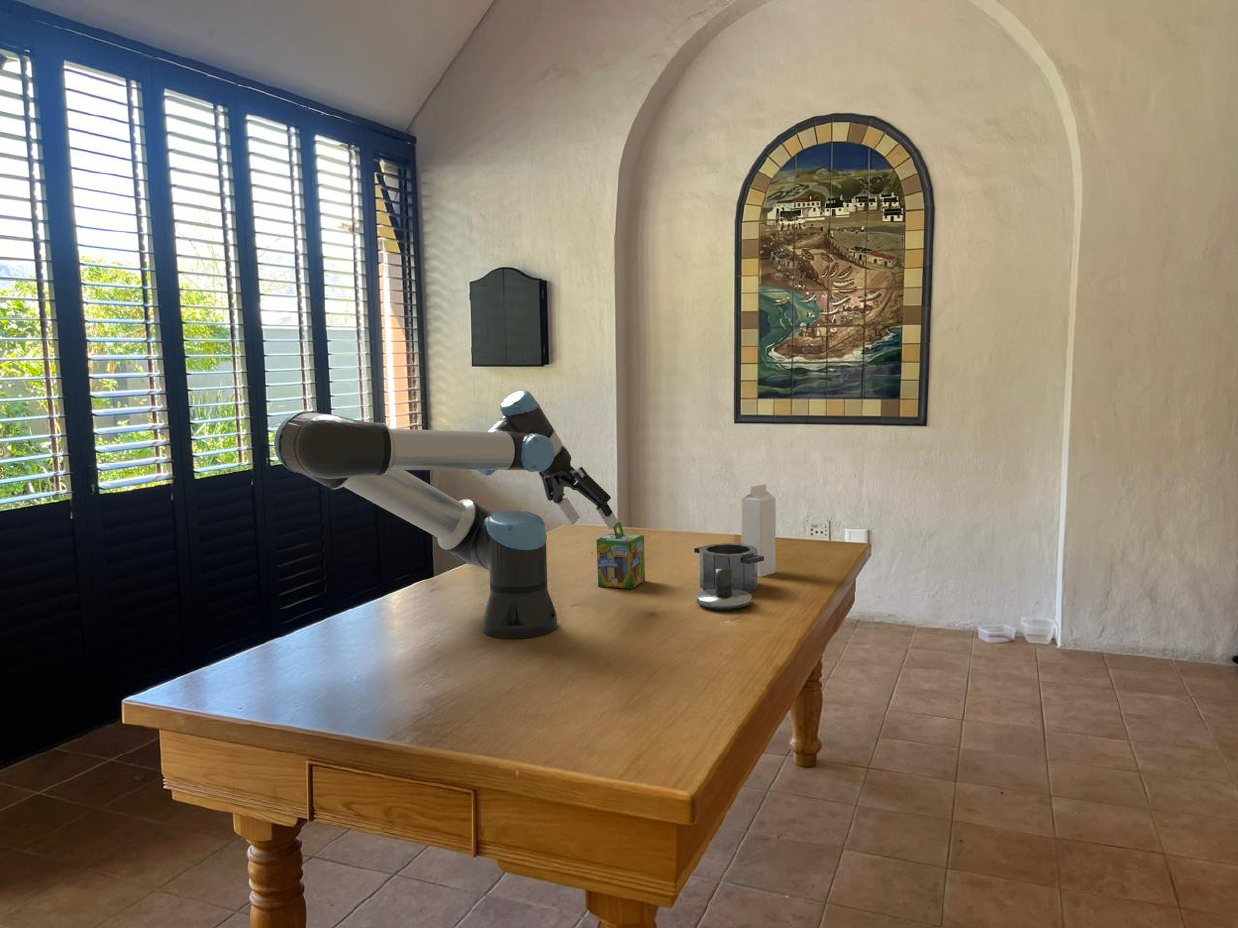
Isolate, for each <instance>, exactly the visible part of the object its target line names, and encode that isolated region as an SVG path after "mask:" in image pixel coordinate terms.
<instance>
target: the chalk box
mask: <svg viewBox="0 0 1238 928" xmlns="http://www.w3.org/2000/svg"><path fill="white" fill-rule="evenodd" d="M617 529H619V532H618V531H617ZM612 530H613V533H608V534H606V535H603V536H601V537H598V538H597V539H596V561H597V562H596V565H597V587H599V588H600V587H601V588H616V589H617V588H618V589H619V588H620V589H630V590H631V589H632V590H633V589H634V588H635V587H637V586H639V585H640V584H642V583H644V582H645V581H646V569H645V568H646V567H645V565H646V563H645V535H642V534H632V533H624V529H623V526H622V523H621V522H620V521H618V522H617V524H616V525H615V526H614V527H613V528H612Z"/></svg>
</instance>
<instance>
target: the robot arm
mask: <svg viewBox="0 0 1238 928" xmlns="http://www.w3.org/2000/svg"><path fill="white" fill-rule="evenodd" d="M499 409H500V411H501V415H502V417H500V418H499V420H498V421H497V422H495V423H494V424H493V425H492V426H491V427H489V429H487V430H485V431H475V430H474V431H473V430H472V431H467V430H445V429H443V430H440V429H438V430H437V429H436V430H435V429H415V428H414V429H409V428H406V429H405V428H390V427H389V426H388V425H387V424H386V423H384V422H373V421H372V422H371V421H364V420H360V419H359V420H357V419H353V418H348V417H345V416H340V415H337V414H330V413H329V414H328V413H319V412H315V411H309V410H305V411H301V412H296V413H294V414H293V413H292V414H291V415H289V416H288V417H286V418H284V420H283V421H282V422H281V423H280V425H279V426H278V428H277V430H276V432H275V433H274V440H273V446H274V451H275V455H276V457H277V459H278V461H279V462H281V464H282V465H283V466H284V467H285V468H286V469H288V470H289V471H291V472H294V473H297V474H301V475H304V476H306V477H308V478H310V479H312V480H314V481H315V482H318V483H319V484H321V485H323V486H324V487H327V488H329V489H330V490H338V489H341V488H343V487H344V488H345V489H347V490H349V491H351V492H353V493H354V494H356V495H359V496H360V497H362V498H364V499H366V500H367V501H370V502H372V504H375V505H376V506H378V507H380V508H382V509H384V510H385V511H387V512H389V513H392V514H394V515H395V516H397V517H399V518H401V519H402V520H405V521H406V522H409V523H410V524H412V525H414V526H416V527H418V528H419V529H421V530H423V531H425V532H427V533H428V534H431V535H433V536H434V537H436V539H437V544H438V545H439V547H440V548H441V549H443V550H444V551H447V552H448V553H450V554H451V555H452V556H453V557H455V558H456V559H457V560H458V561H460V562H462V563H464V564H467V565H472V566H474V567H475V566H476V567H478V568H482V569H484V570H488V572H489V595H488V599H487V604H486V605H485V611H484V614H483V617H482V631H483V633H484V634H486V635H488V636H490V637H494V638H499V639H526V638H527V639H528V638H536V637H540V636H544V635H548V634H550V633H551V632H553V631H555V630H557V628H558V615H557V612H556V609H555V606H554V604H553V601H552V598H551V595H550V593H549V589H548V563H547V562H548V561H547V560H548V559H547V558H548V557H547V539H548V536H547V530H546V523H545V521H544V518H542V517H541V516H540V515H538V514H535V513H534V512H530V511H525V510H524V511H520V510H517V509H515V510H513V509H511V510H508V509H507V510H501V511H496V512H492V511H490V510H488V509H487V508H485V507H483V506H481V505H480V504H478V503H476V502H474V501H473V500H471V499H469V498H463V499H461V500H456V499H455V498H454V497H452V496H451V495H448V494H447V493H445V492H444V491H441V490H439V489H438V488H436V487H435V486H432V485H430V483H427V482H425V481H424V480H422V479H420V478H419V477H417V476H415V475H414V474H412V473H410V472H408V471H477V472H479V473H480V474H481V475H485V476H491V475H493V473H495V472H497V471H527V472H529V473H536V472H537V473H538V475H539V477H540V478H541V480H542V485H543V487H544V492H545V496H546V499H547V501H549V502H551V501H553V503H554V504H556V505H557V506H558V508H559V509H560V511H561V512H562V514H563V515H564V516H565V518H566V519H567V521H568V522H569V524H570V525H571V526H574V525H575V524H576V523H577V521H578V520H579V519H580V518H581V516H580V515H579V514H578V512H577V510H576V509H575V508H574V506H573V504H572V503H571V501H570V500H569V498H568V497H567V496H566V493H564V491H565V487H566V488H570V489H571V490H572V491H577V492H578V493H579V494H581V495H582V496H583V497H585V498H586V499H588V500H589V501H590V502H591V503H592V504H594V505H595V510H596V511H597V512H598V514H599V515H600V518H601V519H602V521H603V522H604V523H605V525H606V527H607V528H608V530H613V527H614V526H615V525H616V524H617V522H619V520H618V518H617V517H616V516H615V514H614V512H613V510H612V508H611V506H610V505H609V503H608V502H610V500H611V498H612V497H611V495H610V494H608V492H606V490H605V489H603V488H602V487H601V486H600V485H599V484H598V483H597V482H596V481H595V480H594V478H592V477H591V476H590V475H589V474H588V473H587V471H586V470H585V469H584V467H583V466H579V467H578V468H577V469H575V468H574V466H572V464H571V461H572V455H571V454H570V452H569V451H568V449H567V448H566V445H565V444H563V442H562V440H561V438H560V437H559V435H558V434H557V431H556V430H555V429H554V427H553V426H552V423H551V422H550V420H549V419H548V418H547V416H546V414H545V413H544V411H543V410H542V408H541V405H540V404H539V403H538V401H537V400H536V398H535V397H534V396H533V394H531V392H530V391H528V390H522V389H521V390H517V391H515V392H513V393H511V394H509V395H508V396H507V397H505V398H504V399H503V401H502V402H501V403H500V406H499Z"/></svg>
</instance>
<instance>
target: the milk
mask: <svg viewBox="0 0 1238 928" xmlns="http://www.w3.org/2000/svg"><path fill="white" fill-rule="evenodd" d="M776 510H777V509H776V498H775V496H774V495H772V494H771V493H770V492H769V491H768V490H767V484H765V483H764V484H759V485H754V486H750V493H748V494H747V495H745V496H743V497H742V498H741V544H745V545H750V546H753V547H755V548H756V549H757V555H760V556H764V561H761V562H757V578H758V577H759V578H762V577H766V576H771V575H773V574H776V569H777V568H776V567H777V564H776V563H777V562H776V559H777V557H776V547H777V546H776V544H777V543H776V541H777V540H776V539H777V538H776V537H777V534H776V527H777V526H776V524H777V523H776Z"/></svg>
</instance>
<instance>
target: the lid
mask: <svg viewBox="0 0 1238 928" xmlns="http://www.w3.org/2000/svg"><path fill="white" fill-rule="evenodd" d="M715 583H716V589H710V590H705V591H704V590H701V591H699V592H697V593H696V598H695V599H696V603H697V604H698V605H700V606H703V607H706V608H708V609H711V610H716V611H732V610H738V609H740V608H742V607H747V606H749V605H750V604H752V601H753V600H752V599H753V598H752V594H751V593H750V592H746V591H742V590H737V589H732V568H730V567H717V568H715Z"/></svg>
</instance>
